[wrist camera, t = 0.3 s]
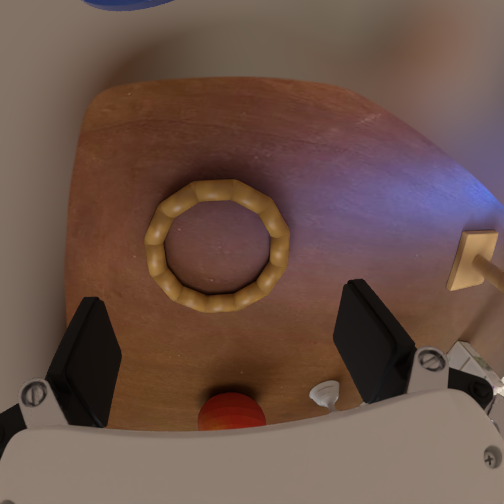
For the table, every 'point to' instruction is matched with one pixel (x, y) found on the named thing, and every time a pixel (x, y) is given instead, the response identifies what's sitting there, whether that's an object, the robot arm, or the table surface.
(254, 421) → the fruit
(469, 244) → the post
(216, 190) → the ring
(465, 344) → the syrup box
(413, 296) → the table surface
